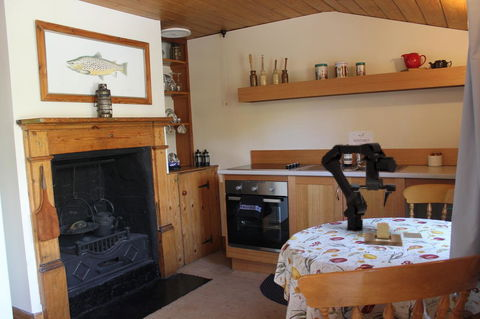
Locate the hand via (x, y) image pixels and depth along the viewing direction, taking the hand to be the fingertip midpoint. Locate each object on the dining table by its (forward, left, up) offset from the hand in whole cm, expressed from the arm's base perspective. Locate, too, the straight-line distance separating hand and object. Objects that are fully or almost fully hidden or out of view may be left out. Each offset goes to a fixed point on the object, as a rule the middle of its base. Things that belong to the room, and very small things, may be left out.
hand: (372, 206), depth 179 cm
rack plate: (+4, -15, -12) cm, 19 cm away
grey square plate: (+16, -4, -12) cm, 20 cm away
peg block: (+4, -15, -12) cm, 19 cm away
